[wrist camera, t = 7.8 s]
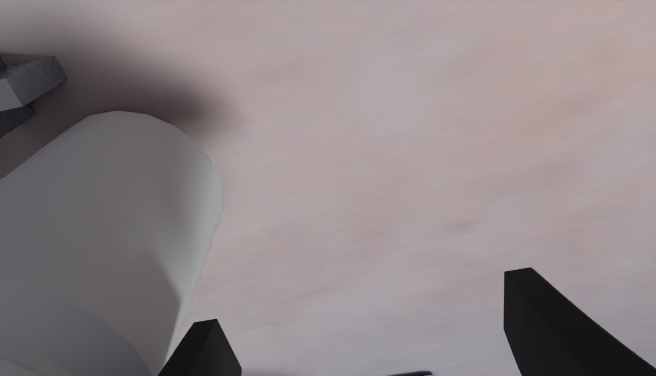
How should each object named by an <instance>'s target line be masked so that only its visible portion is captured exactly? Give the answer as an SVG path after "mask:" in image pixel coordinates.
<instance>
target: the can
mask: <svg viewBox="0 0 656 376" xmlns="http://www.w3.org/2000/svg"><path fill="white" fill-rule="evenodd" d="M222 211H223V186H222V183H221V180H220V177H219V174H218V171H217V168H216V166H215V164H214V163H213V162H212V160H211V159H210V158H209V156H208V155H207V154H206V152H205V151H204V150H203V148H202V147H201V146H200V144H198V143H197V142H196V141H195V140H193V139H192V138H191V137H189V136H188V135H187V134H185V133H184V132H183V131H181V130H180V129H179V128H177V127H176V126H174V125H172V124H169V123H167V122H164V121H162V120H160V119H157V118H155V117H152V116H150V115H148V114H141V113H133V112H125V111H112V112H106V113H100V114H94V115H89V116H88V117H86V118H84V119H83V120H81V121H79V122H77V123H76V124H74V125H72V126H71V127H69V128H67V129H66V130H65V131H63V132H62V133H61V134H60V135H58V136H57V137H56V138H54V139H53V140H52V141H50V142H49V143H48V144H47V145H45V146H44V147H43V148H41V149H40V150H39V151H37V152H36V153H35V154H34V155H32V156H31V157H30V158H28V159H27V160H26V161H24V162H23V163H22V164H21V165H19V166H18V167H17V168H15V169H14V170H13V171H11V172H10V173H9V174H8V175H6V176H5V177H4V178H2V179H1V180H0V376H158V374H159V373H160V371H161V370H162V368H163V367H164V366H165V364H166V363H167V361H168V360H169V358H170V357H171V355H172V354H173V352H174V350H175V347H176V344H177V341H178V338H179V335H180V333H181V330H182V327H183V324H184V321H185V318H186V315H187V312H188V309H189V307H190V304H191V301H192V298H193V295H194V292H195V289H196V286H197V283H198V281H199V278H200V275H201V272H202V269H203V266H204V263H205V260H206V257H207V255H208V252H209V249H210V246H211V243H212V240H213V237H214V234H215V232H216V229H217V226H218V223H219V220H220V217H221V214H222Z"/></svg>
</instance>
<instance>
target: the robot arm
mask: <svg viewBox="0 0 656 376" xmlns="http://www.w3.org/2000/svg"><path fill="white" fill-rule="evenodd" d="M504 331H505V334H506V337H507V339H508V342H509V345H510V347H511V350H512V353H513V355H514V358H515V360H516V363H517V365H518V368H519V370H520V372H521V374H522V376H656V368H654V367H653V366H652V365H650V364H649V363H648V362H646V361H645V360H643V359H642V358H641V357H639V356H638V355H637V354H635V353H634V352H633V351H631V350H630V349H629V348H627V347H626V346H625V345H624V344H622V343H621V342H620V341H618V340H617V339H616V338H615V337H613V336H612V335H611V334H610V333H608V332H607V331H606V330H605V329H603V328H602V327H601V326H600V325H598V324H597V323H596V322H594V321H593V320H592V319H591V318H590V317H588V316H587V315H586V314H585V313H584V312H582V311H581V310H580V309H579V308H578V307H576V306H575V305H574V304H573V303H572V302H571V301H569V300H568V299H567V298H566V297H565V296H564V295H562V294H561V293H560V292H559V291H558V290H557V289H555V288H554V287H553V286H552V285H551V284H550V283H549V282H548V281H546V280H545V279H544V278H543V277H542V276H541V275H540V274H539V273H537V272H536V271H535V270H534V269H532V268H531V267H530V268H524V269H518V270H512V271H506V272H504ZM241 372H242V368H241V366H240V364H239V362H238V360H237V358H236V356H235V354H234V352H233V350H232V348H231V346H230V344H229V342H228V340H227V338H226V336H225V334H224V332H223V330H222V328H221V326H220V324H219V322H218V320H217V319H212V320H206V321H200V322H194V323H193V325H192V326H191V328H190V329H189V331H188V332H187V333H186V335H185V336H184V338H183V339H182V341H181V342H180V343H179V345H178V346H177V348H176V349H175V351H174V352H173V354H172V355H171V357H170V358H169V360H168V361H167V363H166V364H165V366H164V367H163V368H162V370H161V371H160V373H159V374H158V376H241ZM426 376H434V375H426Z"/></svg>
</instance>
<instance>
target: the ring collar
mask: <svg viewBox="0 0 656 376" xmlns="http://www.w3.org/2000/svg"><path fill="white" fill-rule="evenodd" d="M65 81H67V79H66V78H65V76H64V74H63V72H62V70H61V68H60V66H59V65H58V63H57V61H56V59H55V57H54V56H51V57H47V58H43V59H38V60H34V61H30V62H25V63H21V64H17V65H12V66H8V67H5V66H4V64H3V62H2V61H1V59H0V138H1V137H3V136H4V135H6V134H7V133H9V132H10V131H12V130H13V129H15V128H17V127H18V126H20V125H21V124H23V123H24V122H26V121H27V120H29V119H30V118H32V117H34V116H35V115H34V113H33V112H32V110H31V108H30V107H29V105H28V103H29V102H31V101H33V100H34V99H36V98H38V97H40V96H41V95H43V94H45V93H46V92H48V91H50V90H52V89H53V88H55V87H57V86H58V85H60V84H62V83H63V82H65Z"/></svg>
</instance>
